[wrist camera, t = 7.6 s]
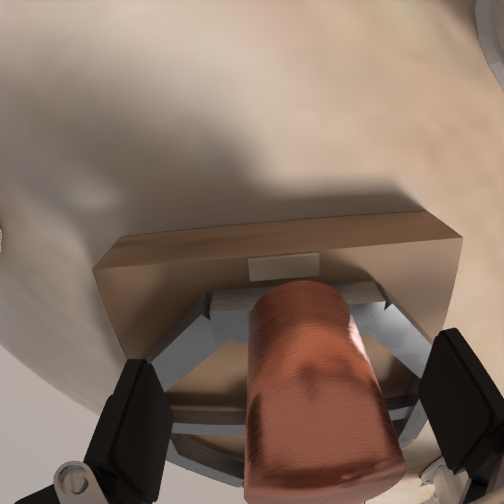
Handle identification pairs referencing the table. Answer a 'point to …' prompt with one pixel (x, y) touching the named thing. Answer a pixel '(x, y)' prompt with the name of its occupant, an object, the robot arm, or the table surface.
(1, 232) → the sitting furry creature
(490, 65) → the french press
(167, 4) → the table surface
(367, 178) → the table surface
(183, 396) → the block
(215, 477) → the handwheel
